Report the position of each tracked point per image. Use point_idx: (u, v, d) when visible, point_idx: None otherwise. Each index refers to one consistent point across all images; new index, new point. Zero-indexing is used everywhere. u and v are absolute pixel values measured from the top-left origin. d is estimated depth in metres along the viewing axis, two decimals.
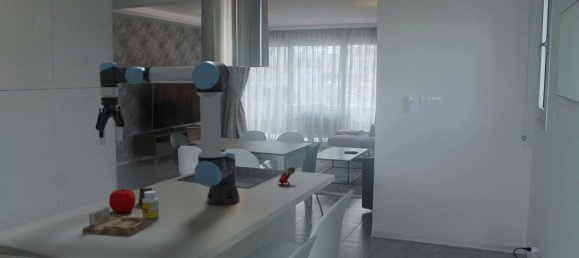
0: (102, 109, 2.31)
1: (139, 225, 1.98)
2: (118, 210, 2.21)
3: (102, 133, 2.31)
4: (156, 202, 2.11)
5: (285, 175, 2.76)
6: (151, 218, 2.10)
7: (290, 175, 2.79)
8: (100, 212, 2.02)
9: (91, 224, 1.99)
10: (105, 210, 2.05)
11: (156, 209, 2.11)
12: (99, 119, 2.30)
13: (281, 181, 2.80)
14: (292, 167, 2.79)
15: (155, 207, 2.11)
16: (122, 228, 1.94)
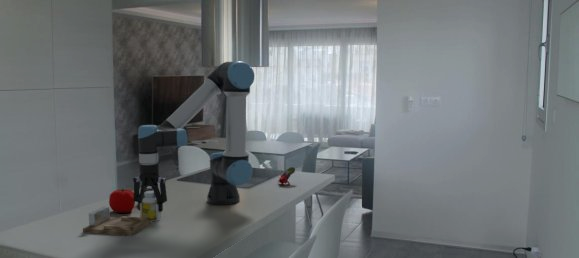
0: None
1: (139, 225, 1.98)
2: (118, 210, 2.21)
3: (139, 206, 2.13)
4: (156, 202, 2.11)
5: (285, 175, 2.76)
6: (151, 218, 2.10)
7: (290, 175, 2.79)
8: (100, 212, 2.02)
9: (91, 224, 1.99)
10: (105, 210, 2.05)
11: None
12: None
13: (281, 181, 2.80)
14: (292, 167, 2.79)
15: (155, 207, 2.11)
16: (122, 228, 1.94)
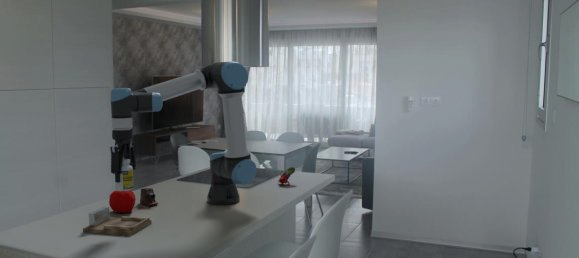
0: (114, 149, 1.91)
1: (139, 225, 1.98)
2: (118, 210, 2.21)
3: (119, 177, 1.95)
4: None
5: (285, 175, 2.76)
6: None
7: (290, 175, 2.79)
8: (100, 212, 2.02)
9: (91, 224, 1.99)
10: (105, 210, 2.05)
11: None
12: (113, 161, 1.92)
13: (281, 181, 2.80)
14: (292, 167, 2.79)
15: None
16: (122, 228, 1.94)
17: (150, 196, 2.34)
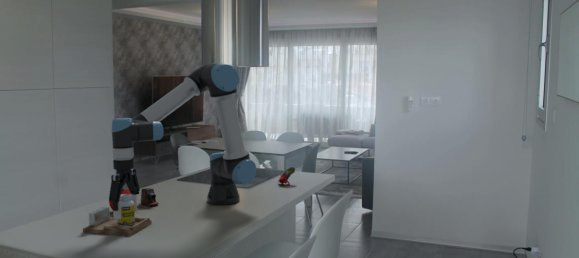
0: (115, 177, 1.92)
1: (139, 225, 1.98)
2: None
3: (117, 206, 1.94)
4: None
5: (285, 175, 2.76)
6: (134, 220, 2.02)
7: (290, 175, 2.79)
8: (100, 212, 2.02)
9: (91, 224, 1.99)
10: (105, 210, 2.05)
11: None
12: (112, 189, 1.92)
13: (281, 181, 2.80)
14: (292, 167, 2.79)
15: None
16: (122, 228, 1.94)
17: (151, 196, 2.34)
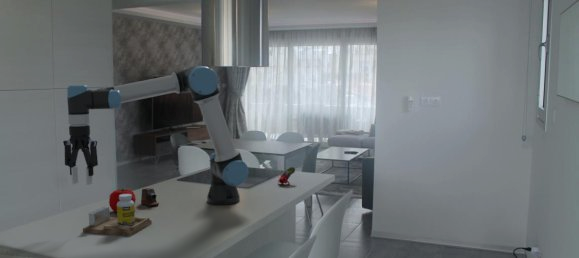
0: None
1: (139, 225, 1.98)
2: None
3: None
4: None
5: (285, 175, 2.76)
6: (134, 220, 2.02)
7: (290, 175, 2.79)
8: (100, 212, 2.02)
9: (91, 224, 1.99)
10: (105, 210, 2.05)
11: None
12: None
13: (281, 181, 2.80)
14: (292, 167, 2.79)
15: None
16: (122, 228, 1.94)
17: (151, 196, 2.34)
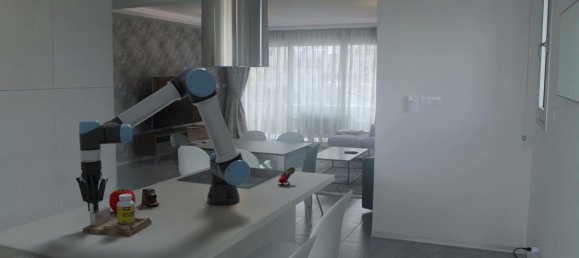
0: None
1: (139, 225, 1.98)
2: None
3: (89, 206, 2.04)
4: None
5: (285, 175, 2.76)
6: (134, 220, 2.02)
7: (290, 175, 2.79)
8: (101, 212, 2.02)
9: (92, 224, 1.99)
10: (106, 210, 2.05)
11: None
12: None
13: (281, 181, 2.80)
14: (292, 167, 2.79)
15: None
16: (122, 228, 1.94)
17: (151, 196, 2.33)
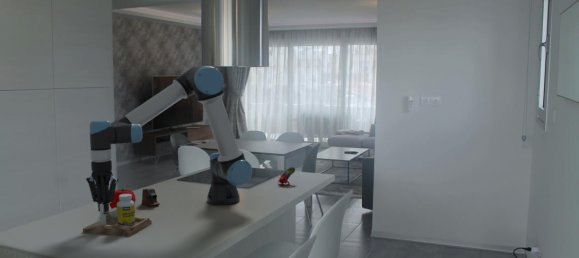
0: None
1: (139, 225, 1.98)
2: None
3: (99, 207, 2.02)
4: None
5: (285, 175, 2.76)
6: (134, 220, 2.02)
7: (290, 175, 2.79)
8: (111, 213, 2.01)
9: (102, 225, 1.98)
10: (116, 211, 2.04)
11: None
12: None
13: (281, 181, 2.80)
14: (292, 167, 2.79)
15: None
16: (122, 228, 1.94)
17: (152, 197, 2.33)
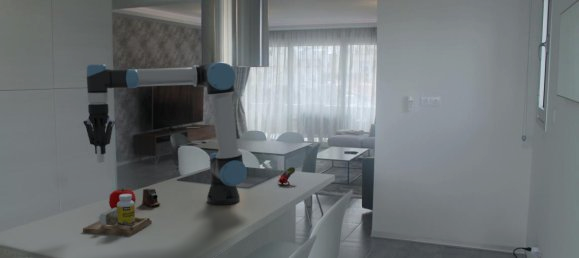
0: None
1: (139, 225, 1.98)
2: None
3: (96, 149, 2.08)
4: None
5: (285, 175, 2.76)
6: (134, 220, 2.02)
7: (290, 175, 2.79)
8: (111, 213, 2.01)
9: (102, 225, 1.98)
10: (116, 211, 2.04)
11: None
12: None
13: (281, 181, 2.80)
14: (292, 167, 2.79)
15: None
16: (122, 228, 1.94)
17: (152, 197, 2.33)
